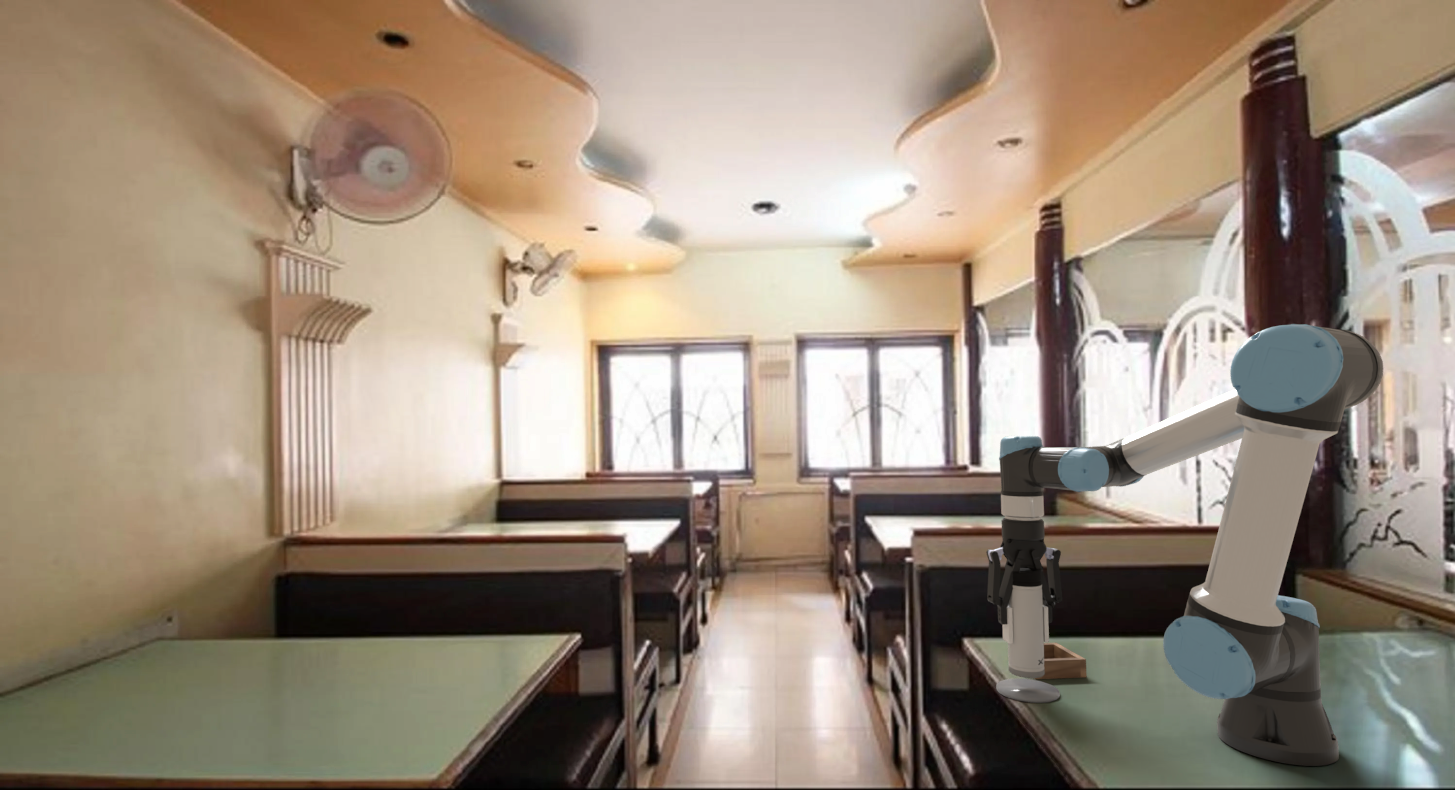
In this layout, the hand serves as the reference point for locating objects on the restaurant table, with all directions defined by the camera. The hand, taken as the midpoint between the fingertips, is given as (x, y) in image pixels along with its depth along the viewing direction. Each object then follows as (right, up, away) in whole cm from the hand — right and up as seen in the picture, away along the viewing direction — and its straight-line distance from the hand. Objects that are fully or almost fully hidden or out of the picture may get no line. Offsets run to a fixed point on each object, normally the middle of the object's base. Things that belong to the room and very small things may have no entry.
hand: (1025, 640), depth 139 cm
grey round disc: (0, -9, 0) cm, 9 cm away
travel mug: (0, -6, 0) cm, 6 cm away
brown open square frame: (+9, -10, +12) cm, 18 cm away
